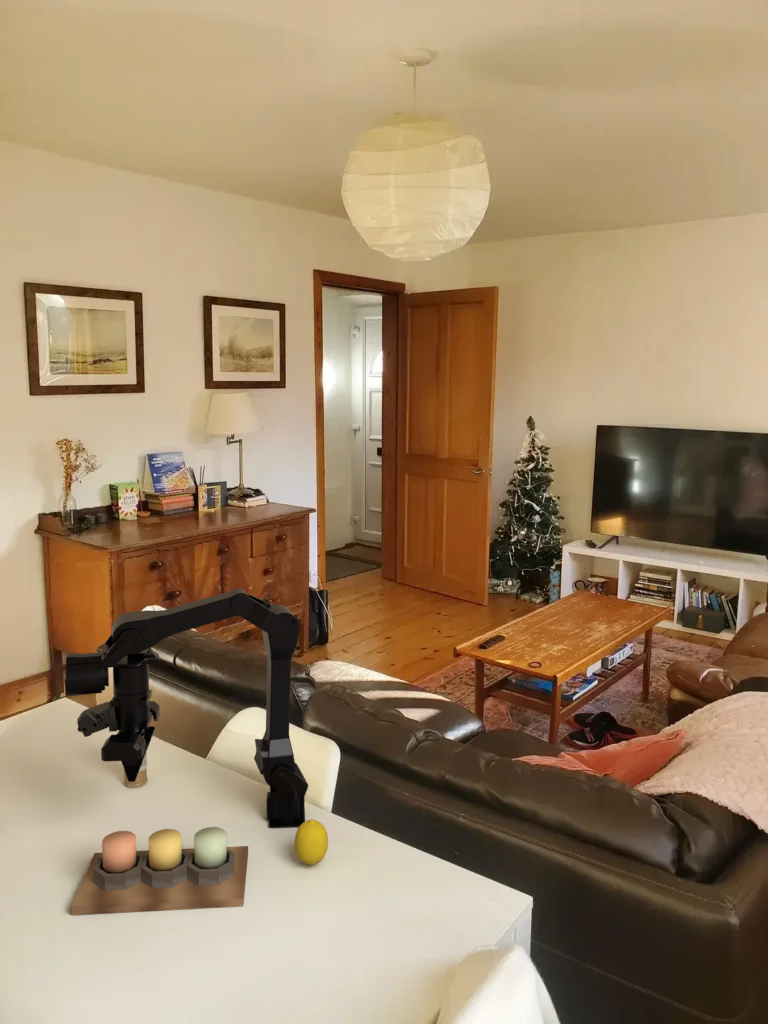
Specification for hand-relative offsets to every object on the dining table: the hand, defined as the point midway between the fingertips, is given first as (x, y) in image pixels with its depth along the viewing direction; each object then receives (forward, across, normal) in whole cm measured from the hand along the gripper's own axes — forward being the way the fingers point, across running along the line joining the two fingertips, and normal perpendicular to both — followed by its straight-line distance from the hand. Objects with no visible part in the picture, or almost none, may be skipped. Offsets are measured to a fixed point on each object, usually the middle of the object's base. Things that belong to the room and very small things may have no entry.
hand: (133, 777), depth 135 cm
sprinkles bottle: (+12, -22, -4) cm, 25 cm away
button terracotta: (+8, +12, 0) cm, 15 cm away
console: (+12, +12, +7) cm, 18 cm away
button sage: (+8, +12, +14) cm, 20 cm away
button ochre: (+8, +12, +7) cm, 16 cm away
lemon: (+12, +9, +30) cm, 34 cm away
